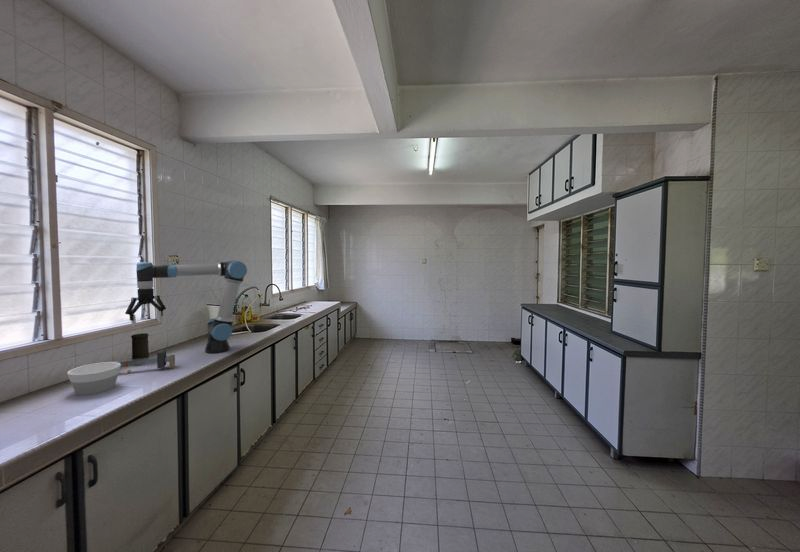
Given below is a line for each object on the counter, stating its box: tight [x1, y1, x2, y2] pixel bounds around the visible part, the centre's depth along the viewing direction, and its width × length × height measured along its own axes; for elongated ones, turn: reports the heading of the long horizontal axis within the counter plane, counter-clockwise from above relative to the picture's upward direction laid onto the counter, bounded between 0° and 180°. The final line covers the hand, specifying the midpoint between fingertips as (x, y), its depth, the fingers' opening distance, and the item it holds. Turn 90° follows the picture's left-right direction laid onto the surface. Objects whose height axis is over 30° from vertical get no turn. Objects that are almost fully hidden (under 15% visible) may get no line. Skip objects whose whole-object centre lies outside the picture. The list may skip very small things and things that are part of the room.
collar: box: [156, 348, 167, 369], centre depth 189 cm, size 3×8×9 cm, turn 27°
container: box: [130, 333, 150, 367], centre depth 198 cm, size 9×9×18 cm
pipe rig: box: [109, 354, 176, 376], centre depth 185 cm, size 30×9×7 cm, turn 117°
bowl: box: [67, 361, 121, 396], centre depth 159 cm, size 19×19×11 cm
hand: (147, 323), depth 192 cm, fingers open, 13 cm apart
